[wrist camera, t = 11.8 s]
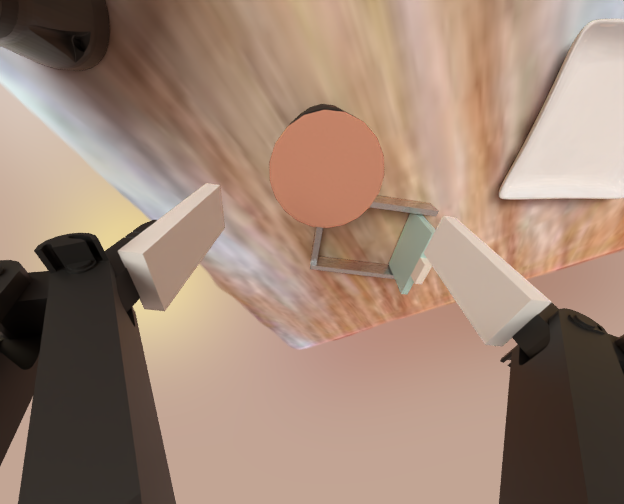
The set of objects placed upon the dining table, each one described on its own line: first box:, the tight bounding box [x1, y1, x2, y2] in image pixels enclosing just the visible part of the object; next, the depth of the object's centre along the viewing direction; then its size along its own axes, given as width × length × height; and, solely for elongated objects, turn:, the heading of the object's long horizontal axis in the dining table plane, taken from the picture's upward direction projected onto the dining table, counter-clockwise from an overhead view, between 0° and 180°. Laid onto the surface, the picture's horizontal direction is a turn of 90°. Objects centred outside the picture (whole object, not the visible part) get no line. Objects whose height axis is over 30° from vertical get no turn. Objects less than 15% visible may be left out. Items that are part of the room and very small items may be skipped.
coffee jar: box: [270, 104, 384, 228], centre depth 28 cm, size 11×11×18 cm
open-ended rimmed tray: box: [310, 196, 439, 279], centre depth 43 cm, size 20×16×4 cm
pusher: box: [389, 213, 435, 294], centre depth 40 cm, size 1×13×11 cm, turn 172°
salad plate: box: [499, 19, 624, 200], centre depth 32 cm, size 21×21×3 cm
